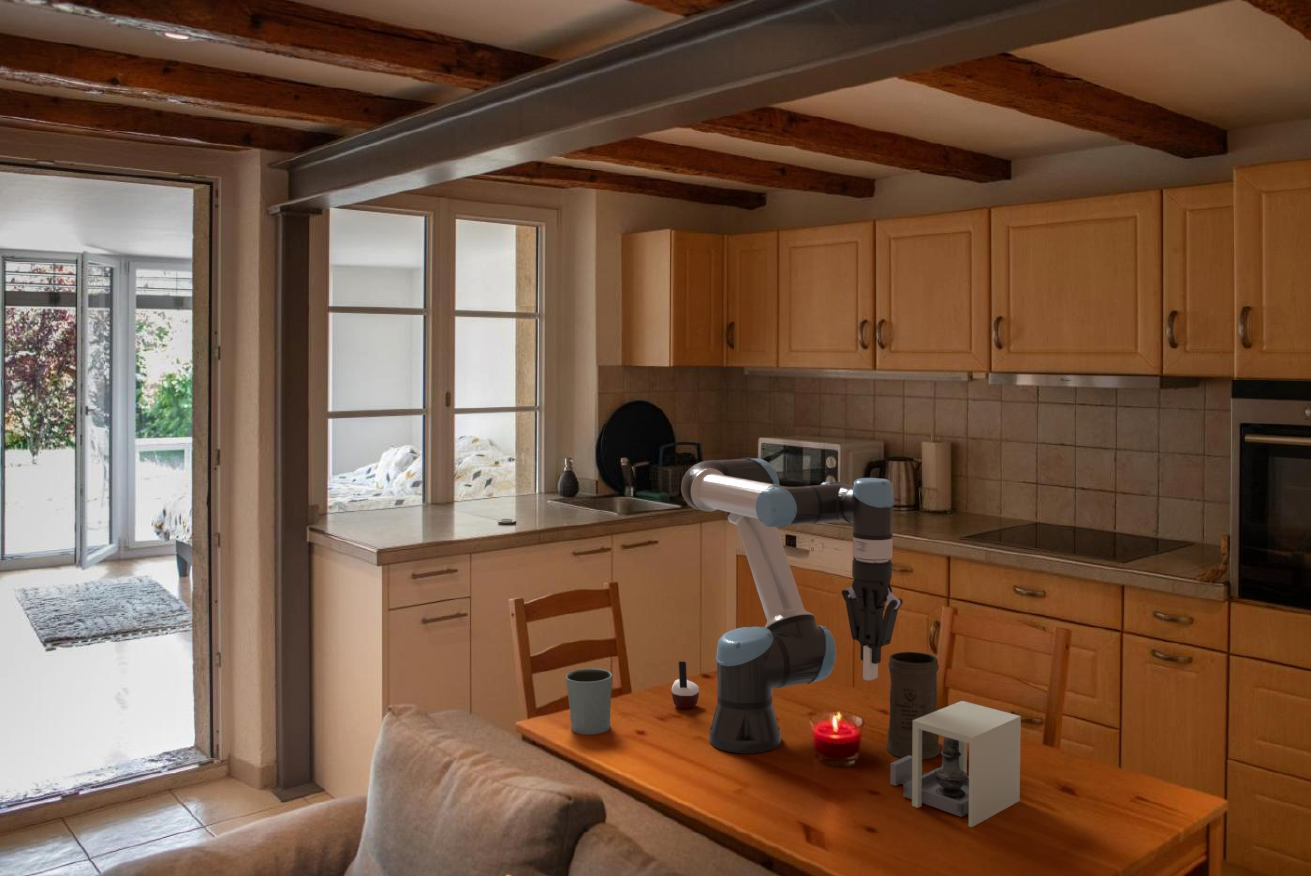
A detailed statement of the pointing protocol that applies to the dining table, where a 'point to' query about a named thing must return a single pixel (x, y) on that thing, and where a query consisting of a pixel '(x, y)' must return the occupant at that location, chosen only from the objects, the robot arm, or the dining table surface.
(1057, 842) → the dining table surface
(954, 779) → the dark grey tall piece
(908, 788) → the tray
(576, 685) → the grey-blue cup
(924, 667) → the beer stein
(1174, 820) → the dining table surface
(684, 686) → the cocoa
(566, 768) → the dining table surface
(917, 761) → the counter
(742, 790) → the dining table surface
